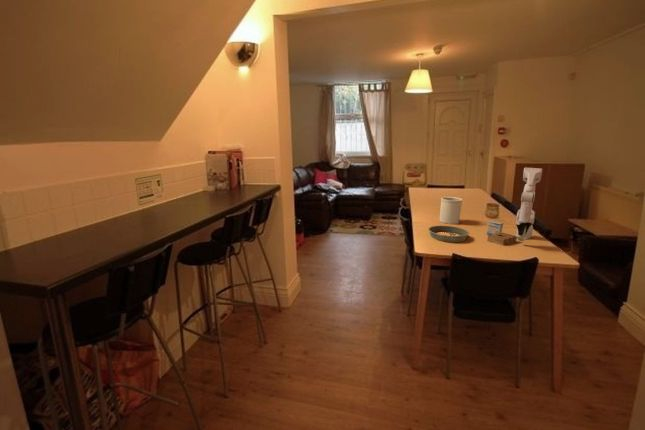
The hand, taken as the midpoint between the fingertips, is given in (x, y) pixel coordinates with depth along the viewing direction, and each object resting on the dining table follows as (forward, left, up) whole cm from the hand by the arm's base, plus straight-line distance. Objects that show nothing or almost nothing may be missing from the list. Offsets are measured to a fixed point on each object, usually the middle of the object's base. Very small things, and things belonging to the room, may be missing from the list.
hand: (522, 234), depth 207 cm
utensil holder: (-8, -57, -7) cm, 58 cm away
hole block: (+3, -10, -6) cm, 12 cm away
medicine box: (-5, -20, -7) cm, 22 cm away
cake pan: (+25, -33, -7) cm, 42 cm away
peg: (0, 0, -4) cm, 3 cm away
